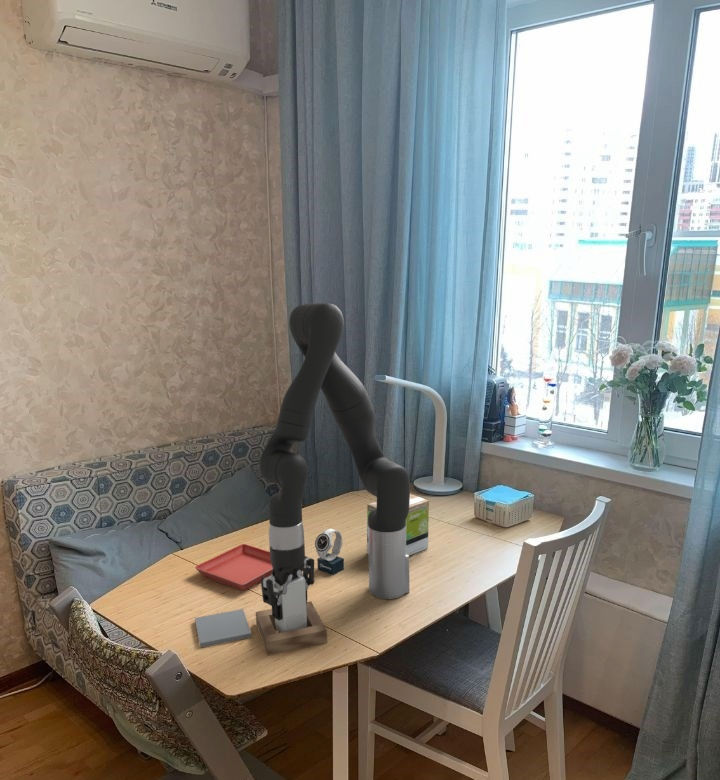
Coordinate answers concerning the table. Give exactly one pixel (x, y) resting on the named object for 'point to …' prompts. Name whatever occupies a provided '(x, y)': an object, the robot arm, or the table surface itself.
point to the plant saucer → (238, 567)
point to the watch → (327, 560)
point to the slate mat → (222, 628)
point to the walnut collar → (291, 632)
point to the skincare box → (293, 606)
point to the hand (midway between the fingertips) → (290, 611)
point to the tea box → (412, 524)
